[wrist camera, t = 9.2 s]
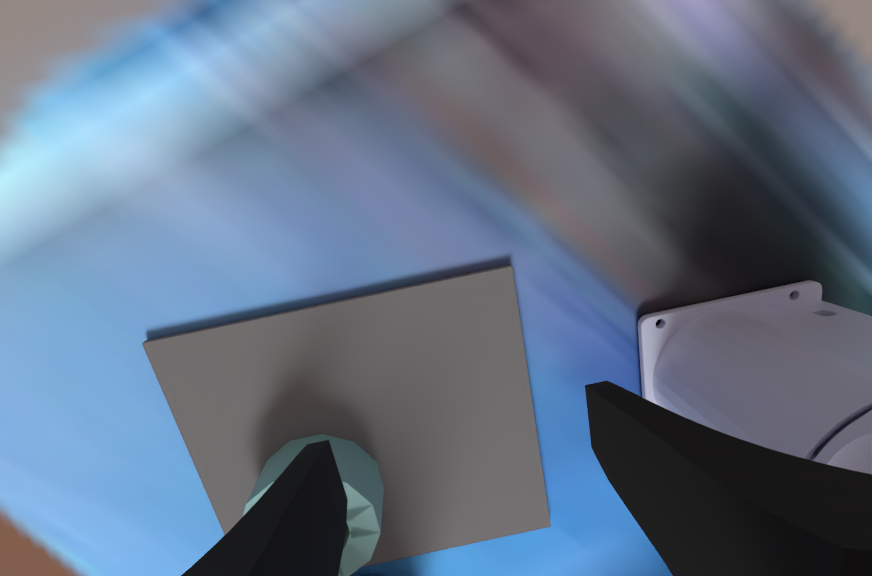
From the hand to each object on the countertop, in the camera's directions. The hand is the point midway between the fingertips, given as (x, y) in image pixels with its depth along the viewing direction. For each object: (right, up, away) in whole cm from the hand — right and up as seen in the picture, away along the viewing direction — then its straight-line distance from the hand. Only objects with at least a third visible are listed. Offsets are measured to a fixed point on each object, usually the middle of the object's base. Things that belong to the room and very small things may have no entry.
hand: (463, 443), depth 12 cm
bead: (-7, -6, +12) cm, 15 cm away
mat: (-4, -4, +11) cm, 13 cm away
